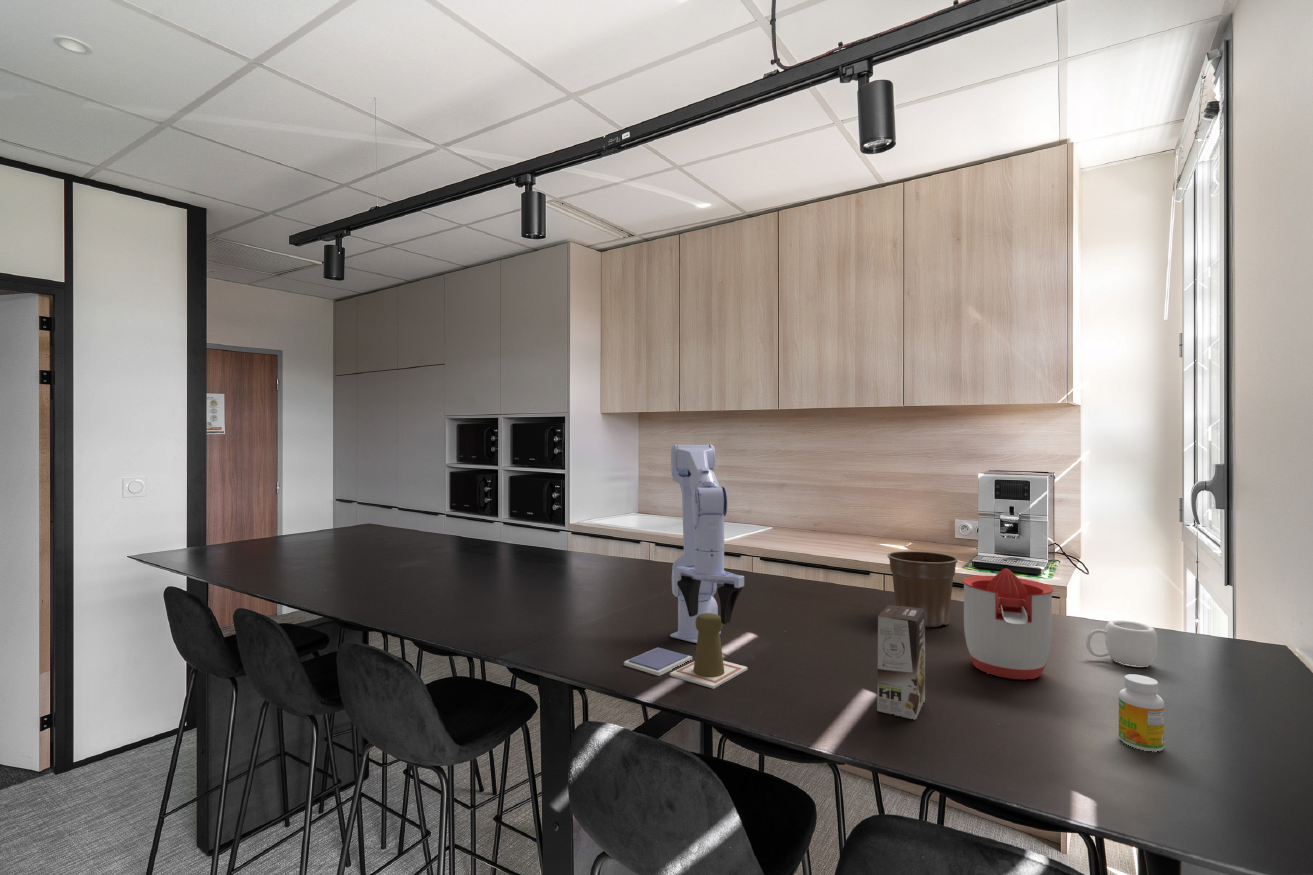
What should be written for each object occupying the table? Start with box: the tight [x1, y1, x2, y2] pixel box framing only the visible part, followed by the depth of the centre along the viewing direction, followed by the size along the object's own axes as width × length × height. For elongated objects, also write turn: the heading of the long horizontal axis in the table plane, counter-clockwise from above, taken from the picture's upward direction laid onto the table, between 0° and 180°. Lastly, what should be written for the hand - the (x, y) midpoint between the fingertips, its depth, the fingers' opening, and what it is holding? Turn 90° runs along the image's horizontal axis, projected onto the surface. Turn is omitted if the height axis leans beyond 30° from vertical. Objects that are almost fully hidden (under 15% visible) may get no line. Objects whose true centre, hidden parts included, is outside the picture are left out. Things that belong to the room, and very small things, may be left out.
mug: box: [1085, 619, 1159, 666], centre depth 127 cm, size 12×8×8 cm
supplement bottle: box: [1118, 673, 1165, 753], centre depth 93 cm, size 5×5×10 cm
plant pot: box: [887, 550, 959, 628], centre depth 156 cm, size 16×16×16 cm
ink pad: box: [623, 647, 693, 677], centre depth 127 cm, size 11×9×1 cm
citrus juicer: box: [961, 568, 1054, 680], centre depth 122 cm, size 16×17×20 cm
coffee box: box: [876, 604, 926, 720], centre depth 106 cm, size 9×6×16 cm
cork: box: [693, 613, 725, 677], centre depth 121 cm, size 6×6×11 cm
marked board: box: [669, 660, 748, 690], centre depth 121 cm, size 12×10×1 cm
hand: (709, 618), depth 121 cm, fingers open, 7 cm apart
